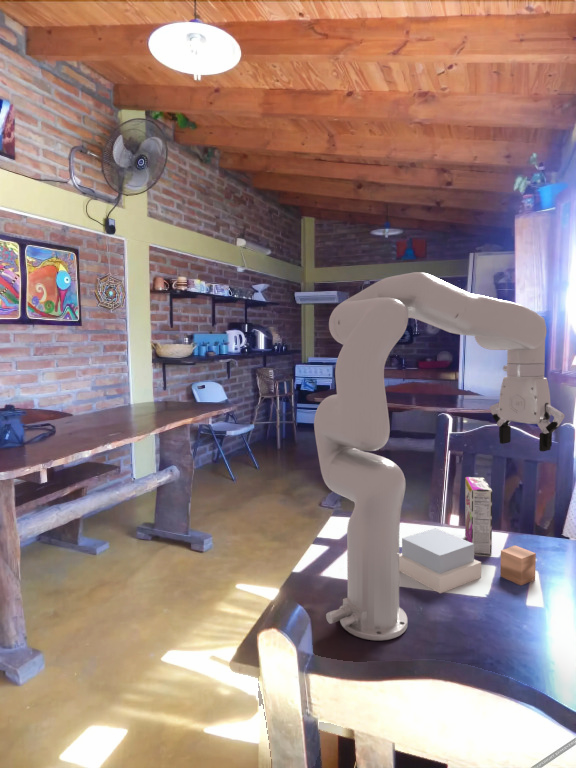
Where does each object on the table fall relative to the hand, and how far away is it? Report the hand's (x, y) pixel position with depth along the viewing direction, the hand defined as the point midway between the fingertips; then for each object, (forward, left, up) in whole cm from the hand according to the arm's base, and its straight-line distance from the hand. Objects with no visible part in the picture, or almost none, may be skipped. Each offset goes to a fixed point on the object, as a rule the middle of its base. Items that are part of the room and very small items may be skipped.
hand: (524, 446), depth 111 cm
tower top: (-19, +8, -25) cm, 32 cm away
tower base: (-19, +8, -29) cm, 35 cm away
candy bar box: (+1, +13, -28) cm, 31 cm away
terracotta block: (-6, -3, -28) cm, 29 cm away
